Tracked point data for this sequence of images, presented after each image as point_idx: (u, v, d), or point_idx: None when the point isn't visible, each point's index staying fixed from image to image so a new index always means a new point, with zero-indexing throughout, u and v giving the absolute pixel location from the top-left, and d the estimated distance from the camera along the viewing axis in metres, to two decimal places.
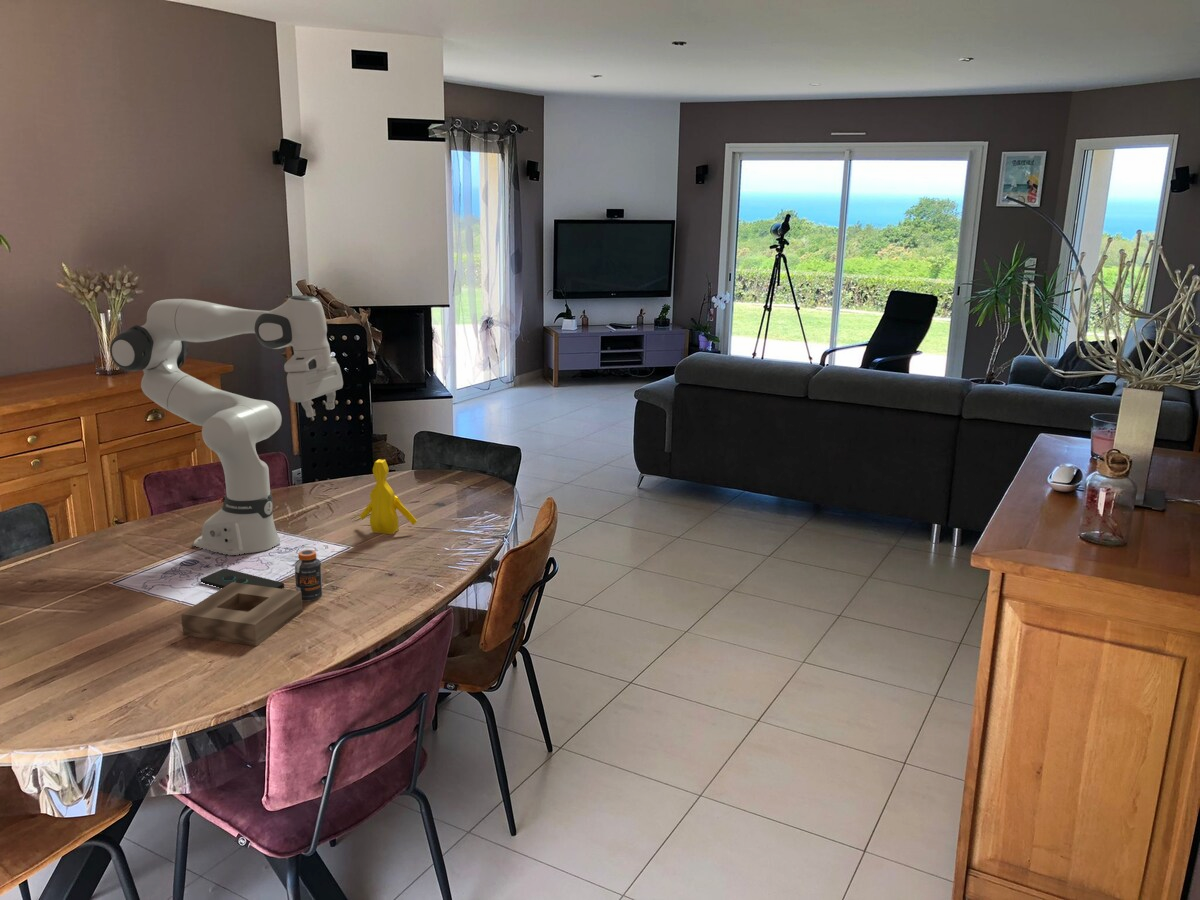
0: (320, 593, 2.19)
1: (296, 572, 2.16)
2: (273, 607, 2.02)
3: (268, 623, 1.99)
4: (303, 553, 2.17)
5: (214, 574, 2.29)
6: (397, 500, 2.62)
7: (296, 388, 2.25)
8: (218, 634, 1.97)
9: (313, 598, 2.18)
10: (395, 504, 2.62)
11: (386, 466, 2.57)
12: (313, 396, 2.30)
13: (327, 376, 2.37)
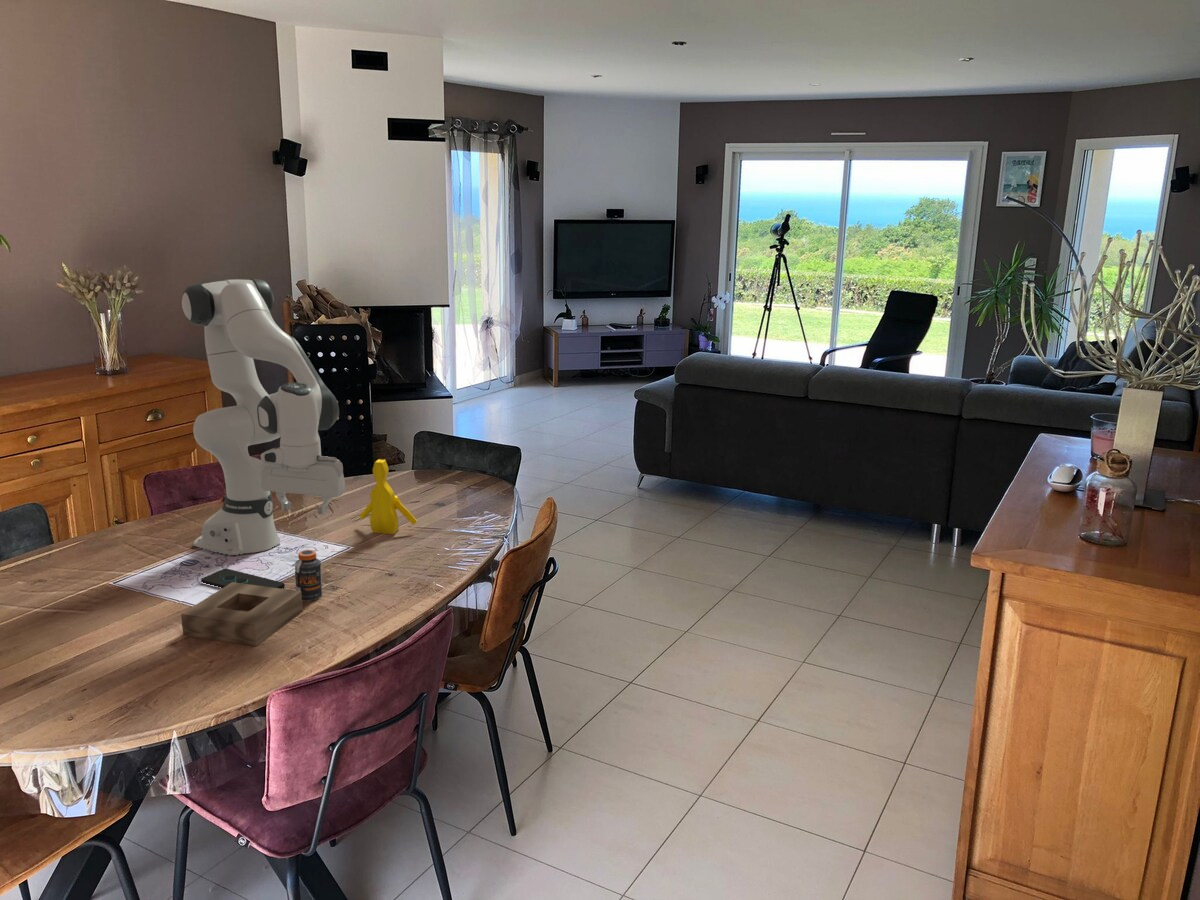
0: (320, 593, 2.19)
1: (296, 572, 2.16)
2: (273, 607, 2.02)
3: (268, 623, 1.99)
4: (303, 553, 2.17)
5: (215, 574, 2.29)
6: (397, 500, 2.62)
7: None
8: (218, 634, 1.97)
9: (313, 598, 2.18)
10: (395, 504, 2.62)
11: (386, 466, 2.57)
12: (279, 490, 2.13)
13: (310, 477, 2.10)
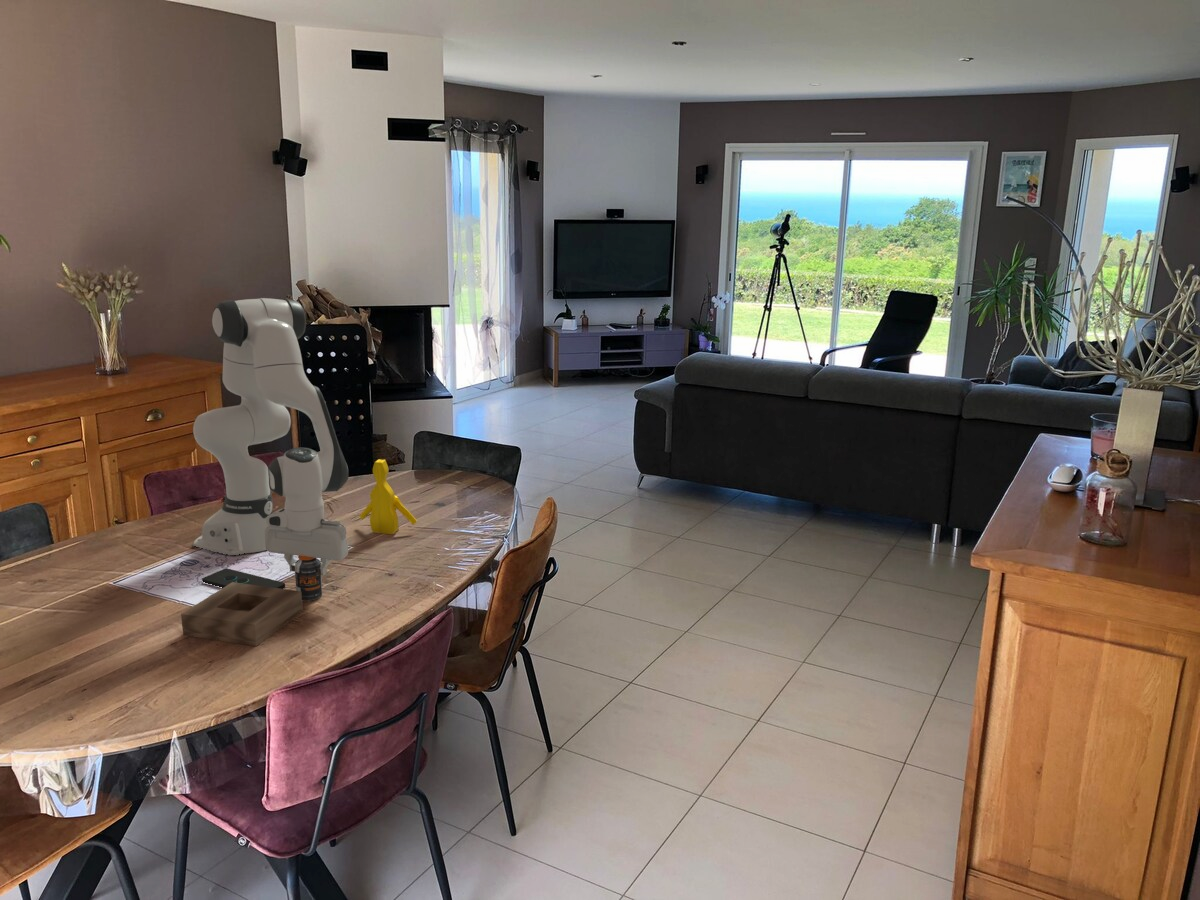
0: (320, 593, 2.19)
1: (296, 572, 2.16)
2: (273, 607, 2.02)
3: (268, 623, 1.99)
4: None
5: (216, 574, 2.29)
6: (397, 500, 2.62)
7: None
8: (218, 634, 1.97)
9: (313, 598, 2.18)
10: (395, 504, 2.62)
11: (386, 466, 2.57)
12: (283, 552, 2.17)
13: (314, 540, 2.14)
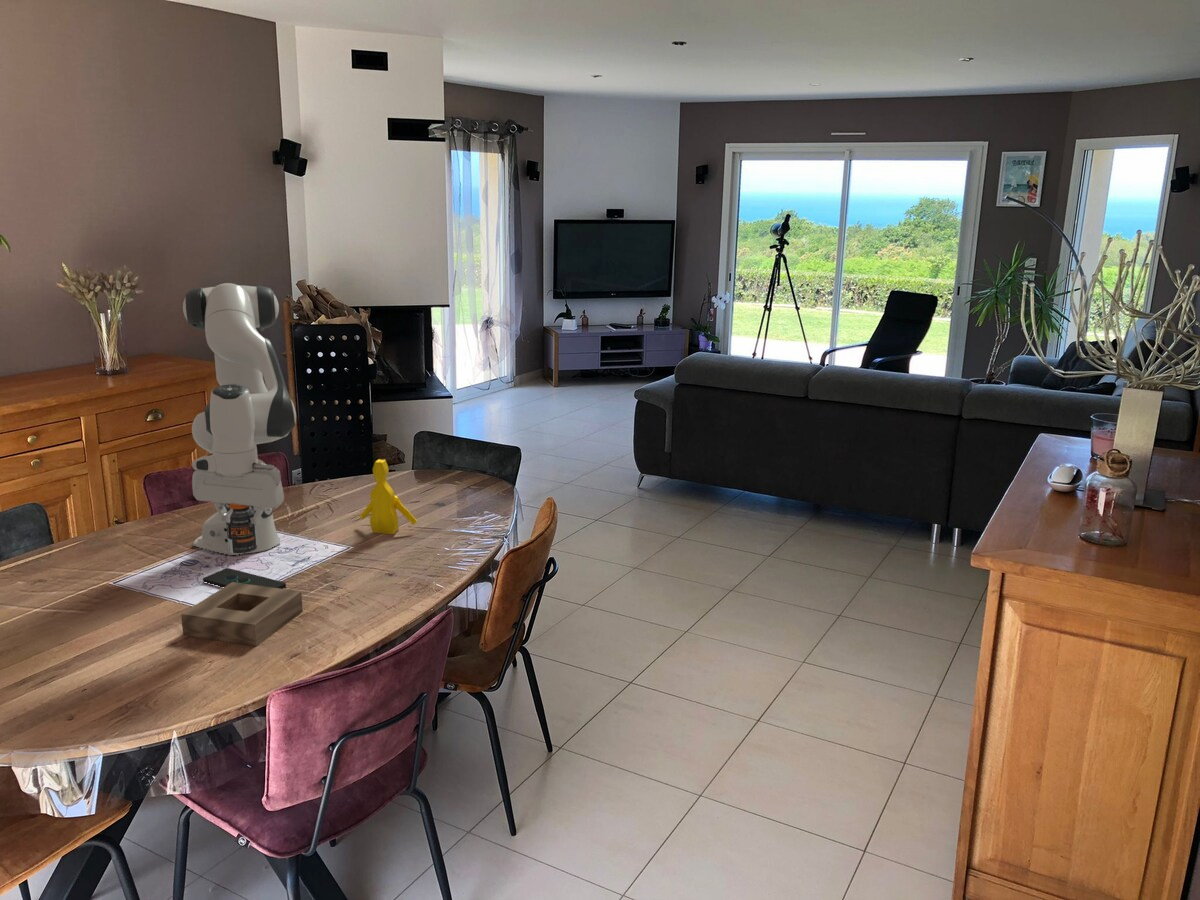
0: (254, 546, 2.01)
1: (227, 522, 1.98)
2: (273, 607, 2.02)
3: (268, 623, 1.99)
4: None
5: (217, 573, 2.29)
6: (397, 500, 2.62)
7: None
8: (218, 634, 1.97)
9: (246, 551, 1.99)
10: (395, 504, 2.62)
11: (386, 466, 2.57)
12: (212, 499, 1.98)
13: (245, 486, 1.96)
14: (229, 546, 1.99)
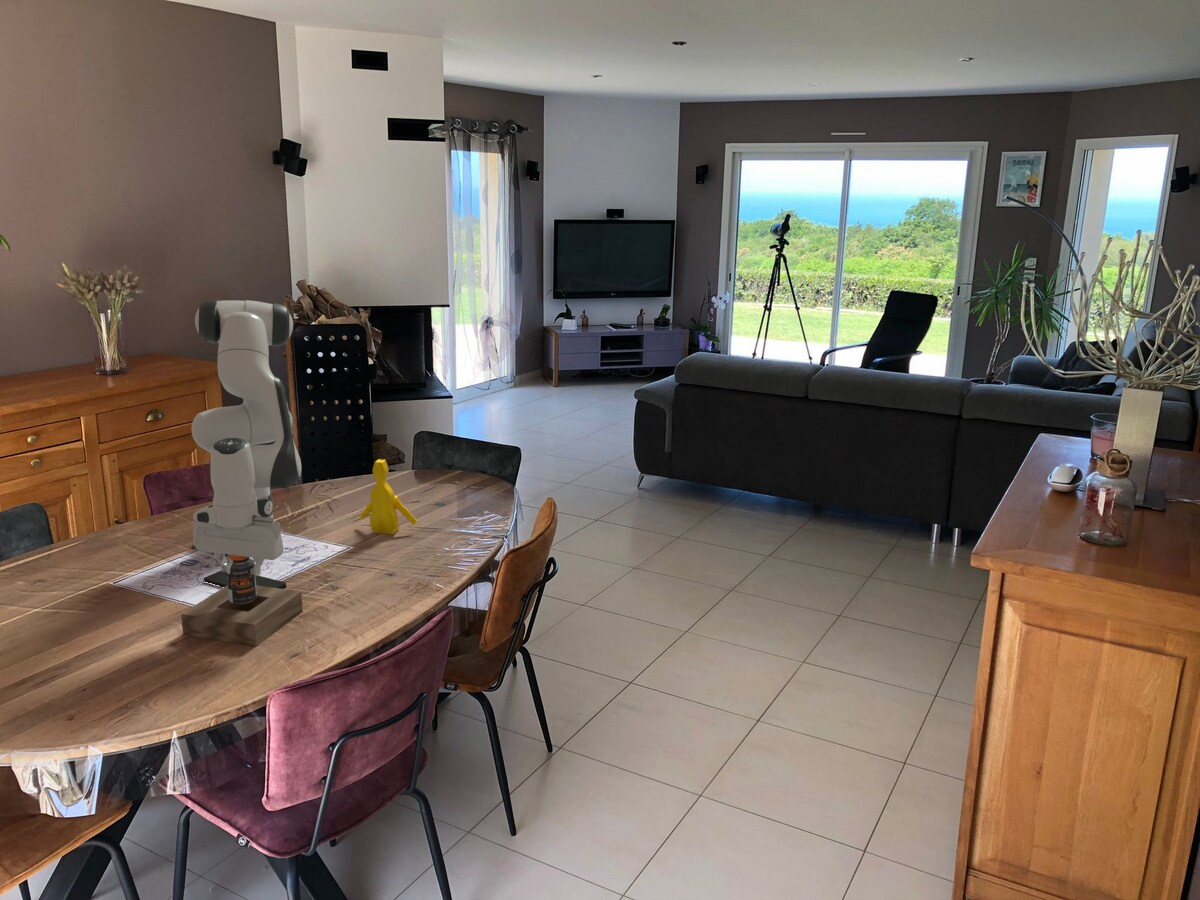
0: (254, 596, 2.03)
1: (227, 573, 2.00)
2: (273, 607, 2.02)
3: (268, 623, 1.99)
4: None
5: (217, 573, 2.29)
6: (397, 500, 2.62)
7: None
8: (218, 634, 1.97)
9: (246, 601, 2.02)
10: (395, 504, 2.62)
11: (386, 466, 2.57)
12: (213, 550, 2.01)
13: (245, 538, 1.98)
14: (229, 596, 2.02)
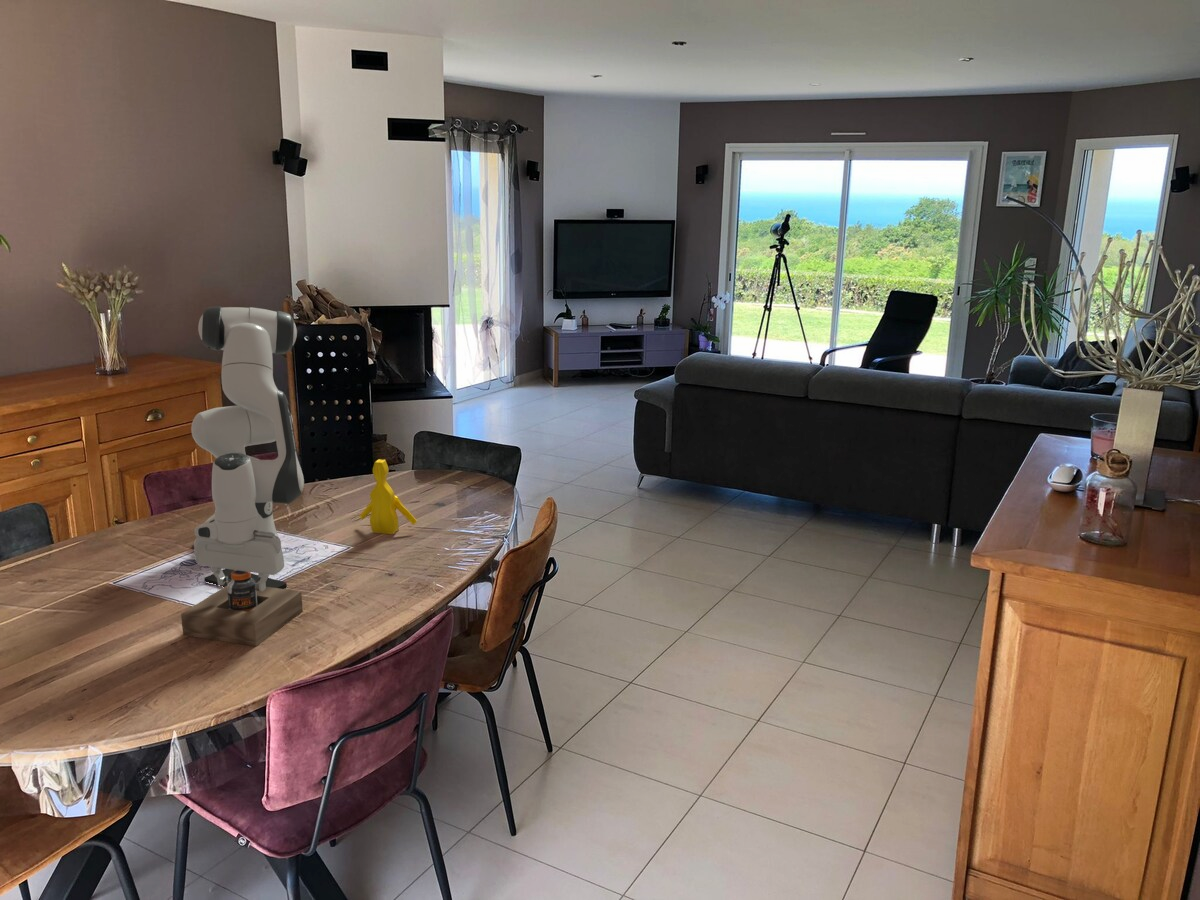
0: None
1: (228, 593, 2.02)
2: (273, 607, 2.02)
3: (268, 623, 1.99)
4: (236, 572, 2.02)
5: None
6: (397, 500, 2.62)
7: None
8: (218, 634, 1.97)
9: None
10: (395, 504, 2.62)
11: (386, 466, 2.57)
12: (214, 565, 2.01)
13: (246, 553, 1.99)
14: None
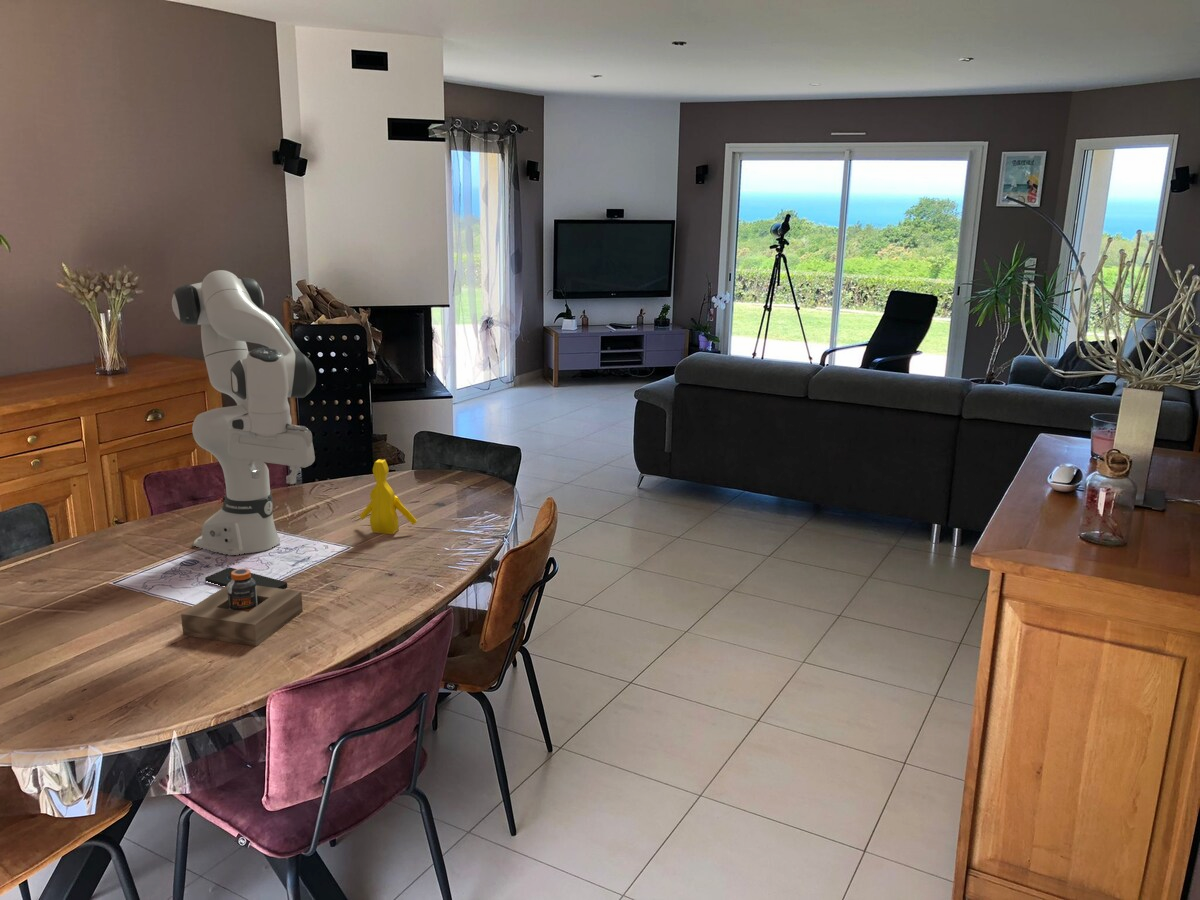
0: None
1: (229, 593, 2.02)
2: (273, 607, 2.02)
3: (268, 623, 1.99)
4: (236, 572, 2.02)
5: (219, 573, 2.30)
6: (397, 500, 2.62)
7: None
8: (218, 634, 1.97)
9: None
10: (395, 504, 2.62)
11: (386, 466, 2.57)
12: (247, 457, 2.07)
13: (278, 446, 2.05)
14: None
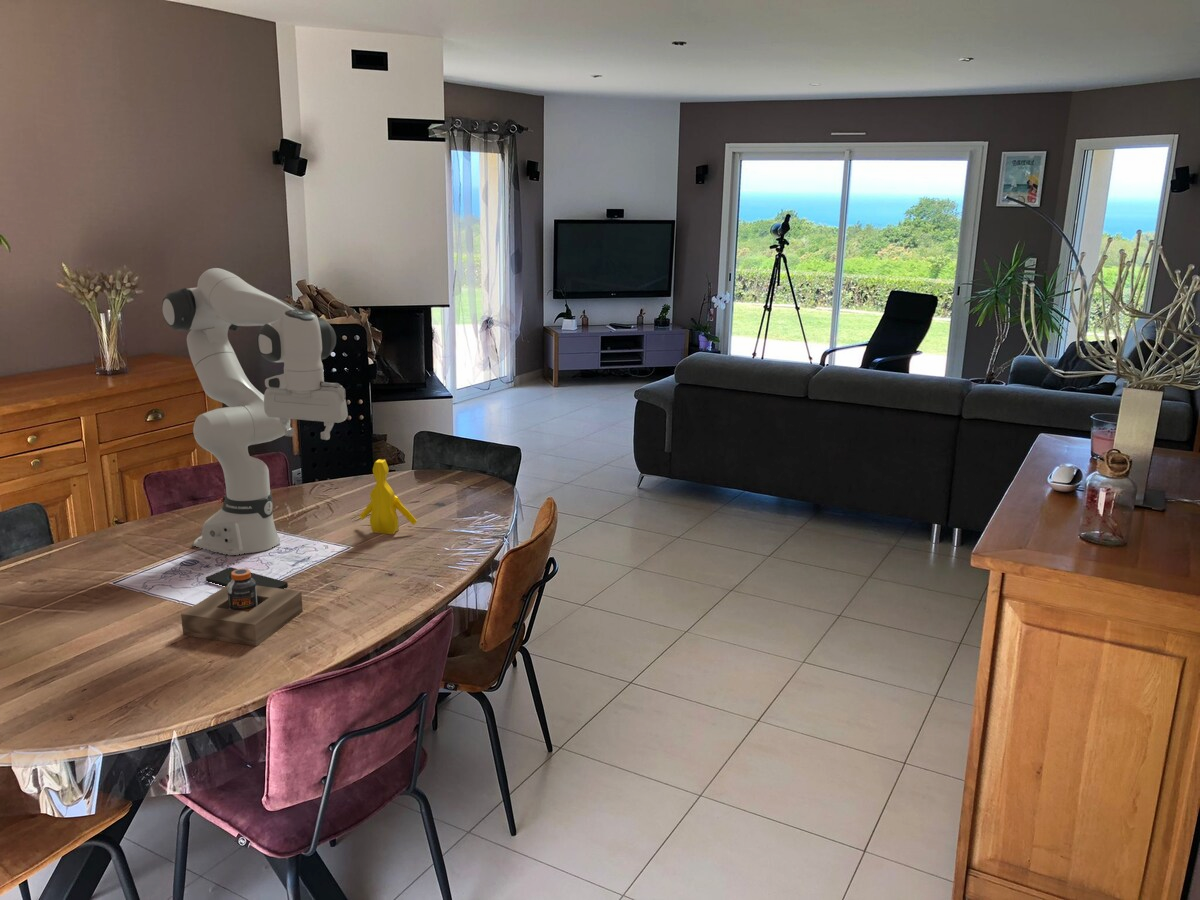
0: None
1: (229, 593, 2.02)
2: (273, 607, 2.02)
3: (268, 623, 1.99)
4: (236, 572, 2.02)
5: (219, 573, 2.30)
6: (397, 500, 2.62)
7: None
8: (218, 634, 1.97)
9: None
10: (395, 504, 2.62)
11: (386, 466, 2.57)
12: (282, 416, 2.17)
13: (313, 403, 2.14)
14: None
